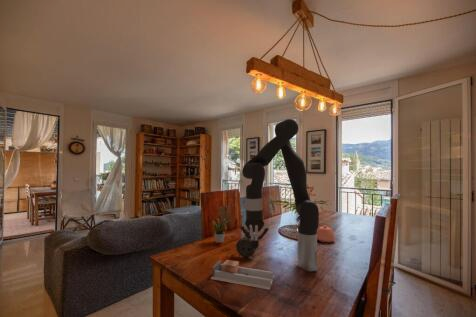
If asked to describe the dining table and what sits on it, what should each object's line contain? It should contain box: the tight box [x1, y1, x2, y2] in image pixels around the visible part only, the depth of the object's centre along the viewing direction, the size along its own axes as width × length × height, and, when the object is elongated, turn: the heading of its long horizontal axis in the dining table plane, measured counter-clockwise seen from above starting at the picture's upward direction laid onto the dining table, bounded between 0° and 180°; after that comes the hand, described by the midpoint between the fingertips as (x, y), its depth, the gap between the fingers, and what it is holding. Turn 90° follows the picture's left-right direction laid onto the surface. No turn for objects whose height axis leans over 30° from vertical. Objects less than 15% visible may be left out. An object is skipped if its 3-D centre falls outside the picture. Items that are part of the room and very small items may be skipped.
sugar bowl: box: [317, 224, 336, 243], centre depth 151 cm, size 12×14×10 cm
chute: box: [210, 259, 275, 290], centre depth 97 cm, size 26×12×5 cm, turn 71°
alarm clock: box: [235, 234, 257, 259], centre depth 120 cm, size 11×5×16 cm, turn 74°
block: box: [222, 259, 240, 274], centre depth 99 cm, size 6×5×5 cm
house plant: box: [211, 217, 232, 242], centre depth 146 cm, size 14×14×16 cm
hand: (255, 248), depth 96 cm, fingers closed
